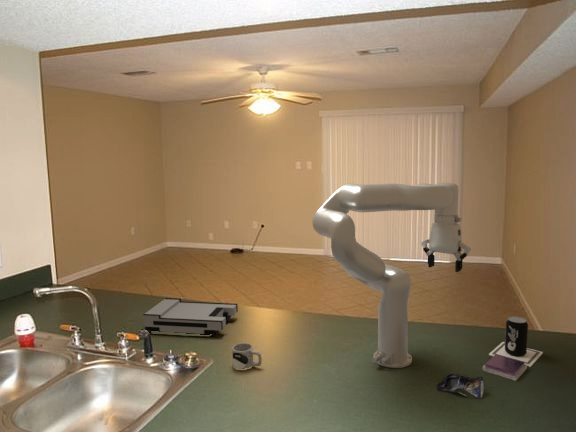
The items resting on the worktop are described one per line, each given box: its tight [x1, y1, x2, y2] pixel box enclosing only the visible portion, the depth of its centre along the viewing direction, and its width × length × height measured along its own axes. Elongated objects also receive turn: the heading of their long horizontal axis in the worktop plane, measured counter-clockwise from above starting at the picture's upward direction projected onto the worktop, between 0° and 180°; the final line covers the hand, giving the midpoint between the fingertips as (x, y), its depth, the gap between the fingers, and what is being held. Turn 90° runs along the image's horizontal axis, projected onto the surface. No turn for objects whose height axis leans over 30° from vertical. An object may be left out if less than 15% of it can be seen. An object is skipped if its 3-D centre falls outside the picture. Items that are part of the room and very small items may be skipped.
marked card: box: [488, 341, 544, 368], centre depth 156 cm, size 13×13×1 cm
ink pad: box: [482, 355, 528, 382], centre depth 146 cm, size 10×10×2 cm
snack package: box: [436, 373, 485, 398], centre depth 134 cm, size 12×6×12 cm
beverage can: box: [504, 315, 529, 357], centre depth 155 cm, size 7×7×12 cm
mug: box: [231, 342, 263, 369], centre depth 152 cm, size 10×7×7 cm, turn 70°
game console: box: [141, 297, 239, 335], centre depth 187 cm, size 21×32×8 cm, turn 79°
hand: (444, 268), depth 159 cm, fingers open, 9 cm apart
